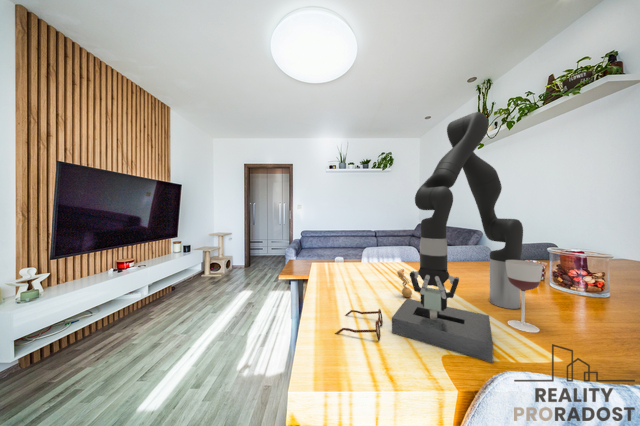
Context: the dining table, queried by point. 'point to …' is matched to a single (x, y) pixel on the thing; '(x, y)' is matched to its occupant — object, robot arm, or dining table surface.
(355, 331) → the glasses
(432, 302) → the keyhole peg
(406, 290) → the figurine
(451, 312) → the keyhole plate
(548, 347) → the dining table surface
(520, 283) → the wineglass
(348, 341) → the dining table surface
